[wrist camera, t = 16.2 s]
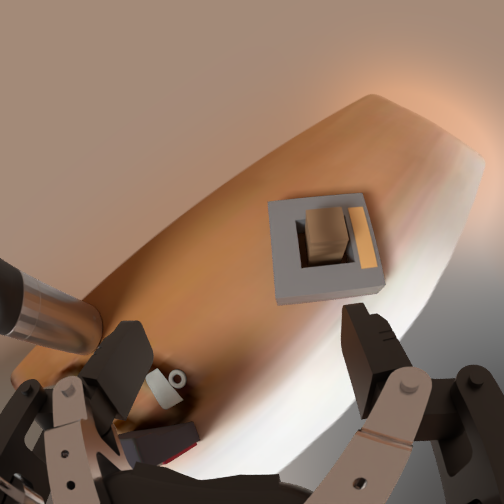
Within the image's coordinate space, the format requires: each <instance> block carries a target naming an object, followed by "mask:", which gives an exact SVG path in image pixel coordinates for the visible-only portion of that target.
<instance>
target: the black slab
mask: <svg viewBox="0 0 504 504" xmlns="http://www.w3.org/2000/svg"><path fill="white" fill-rule="evenodd" d="M118 437H119V440H120V443H121V446H122V449H123V451H124V454H125V457H126V460H127V462H128V463H129V465H130V466H131V468H132V469H133V468H134V466H135V463H136V461H137V462H141V463H146V464H150V465H155V466H161V465H163V464H167V463H169V462H171V461H172V460H174V459H176V458H177V457H179V456H180V455H182V454H184V453H185V452H187V451H188V450H190V449H191V448H193V447H194V446H196V445H197V443H196V442H197V441H199V440H200V439H199V436H198V433H197V431H196V428H195V425H194V423H193V422H187V423H182V424H177V425H171V426H166V427H160V428H153V429H146V430H138V431H131V432H127V433H123V434H119V435H118Z"/></svg>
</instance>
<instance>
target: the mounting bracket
mask: <svg viewBox="0 0 504 504" xmlns="http://www.w3.org/2000/svg"><path fill="white" fill-rule="evenodd" d="M176 374H179V375H180V376H181V378H182V381H181V382H180V383H179V384H177V383H175V382H174V380H173V377H174V375H176ZM146 381H147V383H148V385H149V387H150V389H151V391H152V392H153V394H154V396H155V398H156V399H157V401H158V403H159V404H160V406H161V407H162V408H163V409H166V410H167V409H168V408H170V407H172V406H174V405H175V404H177V403H179V402H181V401H182V400H183V399H182V398H181V397H180V396H179V394H178V393H177V392H176V391H175V390H174V388H173V387H175V388H182V387H183V386H184V385H185V384H186V382H187V378H186V375H185V373H184V372H183V371H181V370H173V371H172V372H171V373H170V375H169V382H170V383H169V382H168V381H167V380H166V379H165V377H164V376H163V375H162V373H161V372H160V371H159V370H158V368H157V369H156V370H154V371H153V372H151V373H149V374H148V375H147V376H146ZM170 384H171V385H172V386H173V387H172V386H171V385H170Z"/></svg>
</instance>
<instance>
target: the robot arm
mask: <svg viewBox="0 0 504 504" xmlns="http://www.w3.org/2000/svg"><path fill="white" fill-rule="evenodd" d="M0 334H1V335H4V336H8V337H11V338H14V339H17V340H21V341H25V342H28V343H32V344H36V345H40V346H44V347H48V348H52V349H56V350H60V351H65V352H69V353H74V354H80V355H88V354H90V353H92V352H93V351H94V350H95V349H96V348H97V346H98V344H99V342H100V340H101V336H102V320H101V317H100V314H99V312H98V310H97V309H96V308H95V307H94V306H92V305H90V304H88V303H85V302H83V301H81V300H79V299H76V298H74V297H72V296H70V295H68V294H66V293H64V292H62V291H59V290H57V289H55V288H53V287H51V286H49V285H47V284H45V283H43V282H41V281H39V280H37V279H35V278H33V277H31V276H30V275H28V274H26V273H24V272H22V271H20V270H19V269H17V268H15V267H13V266H12V265H10V264H8V263H7V262H5V261H4V260H2V259H1V258H0ZM341 347H342V353H343V356H344V359H345V363H346V366H347V369H348V373H349V376H350V380H351V383H352V387H353V390H354V394H355V398H356V401H357V405H358V408H359V412H360V416H361V419H367V420H366V422H365V424H364V425H363V427H362V428H361V430H358V431H357V432H356V433H355V435H354V436H353V438H352V440H351V441H350V442H349V444H348V446H347V447H346V449H345V450H344V452H343V453H342V455H341V456H340V458H339V459H338V460H337V462H336V463H335V465H334V466H333V467H332V469H331V470H330V472H329V473H328V474H327V476H326V477H325V478H324V480H323V481H322V482H321V483H320V485H319V486H318V487H317V488H316V490H315V491H314V492H312V491H310V490H308V489H306V488H303V487H301V486H298V485H293V484H290V483H284V482H281V481H280V477H279V474H272V475H236V476H230V477H223V478H216V479H208V480H197V479H194V478H192V477H189V476H186V475H184V474H181V473H178V472H176V471H173V470H171V469H169V468H166V467H160V466H155V465H150V464H146V463H141V462H137V461H136V463H135V466H134V468H133V469H132V468H131V466H130V465H129V463H128V462H127V460H126V457H125V454H124V451H123V449H122V446H121V443H120V440H119V437H118V434H117V431H116V428H115V426H114V424H113V423H112V422H113V420H114V418H115V419H120V420H125V421H126V419H127V416H128V414H129V412H130V410H131V407H132V405H133V403H134V401H135V399H136V397H137V394H138V392H139V390H140V388H141V386H142V384H143V382H144V379H145V377H146V375H147V373H148V371H149V369H150V367H151V365H152V362H153V350H152V348H151V345H150V343H149V341H148V338H147V336H146V333H145V331H144V328H143V326H142V324H141V323H140V322H139V321H121V322H120V323H119V325H118V326H117V327H116V329H115V330H114V331H113V332H112V333H111V334H110V335H108V336H107V337H106V338H105V339H104V340H103V341H102V342H101V344H100V345H99V346H98V348H97V349H96V351H95V352H94V355H92V356H91V358H90V359H89V360H88V362H87V363H86V365H85V366H84V367H83V369H82V370H81V372H80V373H79V375H78V376H77V377H76V376H69V377H66V378H64V379H62V380H60V381H59V382H58V383H57V384H56V385H55V387H54V389H43V387H42V386H41V385H40V383H39V382H38V381H37V380H35V379H30V380H27V381H25V382H23V383H22V384H21V385H20V386H19V387H18V389H17V390H16V392H15V393H14V395H13V396H12V398H11V399H10V400H9V402H8V403H7V405H6V406H5V408H4V409H3V411H2V413H1V414H0V504H46V502H47V499H48V496H49V494H50V491H51V494H52V499H53V504H385V503H386V501H387V499H388V497H389V496H390V494H391V492H392V490H393V489H394V487H395V485H396V483H397V481H398V479H399V477H400V475H401V473H402V471H403V469H404V467H405V465H406V463H407V460H408V458H409V456H410V454H411V451H412V448H413V445H412V443H413V441H431V445H432V448H433V451H434V455H435V458H436V462H437V466H438V469H439V473H440V477H441V481H442V486H443V490H444V495H445V500H446V504H504V395H503V393H502V391H501V390H500V388H499V386H498V384H497V383H496V381H495V379H494V378H493V376H492V375H491V373H490V372H489V371H488V370H487V369H486V368H484V367H482V366H479V365H468V366H465V367H464V368H462V369H461V370H460V371H459V372H458V374H457V376H456V378H453V379H431V378H430V377H429V375H428V374H427V373H426V372H425V371H423V370H421V369H419V368H416V367H413V366H412V364H411V362H410V360H409V359H408V357H407V355H406V353H405V351H404V349H403V348H402V346H401V344H400V342H399V340H398V339H397V338H396V335H395V333H394V332H393V331H392V328H391V327H390V325H389V323H388V321H387V320H386V319H384V318H383V317H381V316H380V315H379V314H371V315H369V313H368V311H367V309H366V307H365V305H364V304H363V303H356V304H349V305H343V308H342V326H341ZM34 420H35V421H36V422H37V424H39V426H40V427H41V428H42V429H43V431H42V433H41V435H40V438H39V439H38V441H37V443H36V445H35V447H34V449H33V451H30V450H29V449H28V448H27V446H26V445H25V442H24V438H25V435H26V433H27V431H28V430H29V428H30V426H31V424H32V422H33V421H34Z"/></svg>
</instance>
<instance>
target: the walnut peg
mask: <svg viewBox="0 0 504 504" xmlns="http://www.w3.org/2000/svg"><path fill="white" fill-rule="evenodd" d="M348 240H349V238H348V233H347V229H346V224H345V220H344V215H343V211H342V207H332V208H321V209H310V210H306V219H305V244H306V252H307V260H308V268H309V267H318V266H327V265H336V264H340V262H341V260H342V257H343V254H344V251H345V249H346V246H347V243H348Z"/></svg>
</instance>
